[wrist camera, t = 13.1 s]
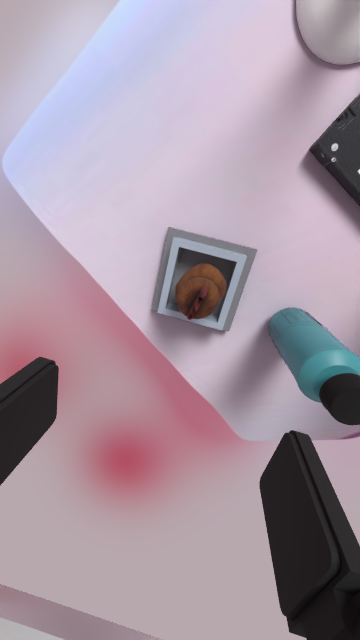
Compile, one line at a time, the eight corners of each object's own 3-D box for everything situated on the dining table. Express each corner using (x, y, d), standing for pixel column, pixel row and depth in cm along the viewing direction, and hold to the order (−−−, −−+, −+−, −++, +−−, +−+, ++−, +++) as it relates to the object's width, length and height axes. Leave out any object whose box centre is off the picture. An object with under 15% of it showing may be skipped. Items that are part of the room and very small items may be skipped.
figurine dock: (255, 249, 35) (260, 251, 30) (228, 327, 39) (229, 339, 35) (170, 227, 35) (164, 226, 31) (153, 307, 40) (146, 316, 36)
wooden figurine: (207, 252, 34) (202, 266, 20) (231, 282, 35) (243, 315, 21) (173, 282, 36) (147, 313, 22) (197, 309, 37) (186, 355, 23)
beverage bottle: (258, 332, 39) (297, 424, 20) (277, 296, 36) (342, 363, 18) (295, 346, 39) (368, 451, 20) (317, 311, 36) (423, 394, 18)
